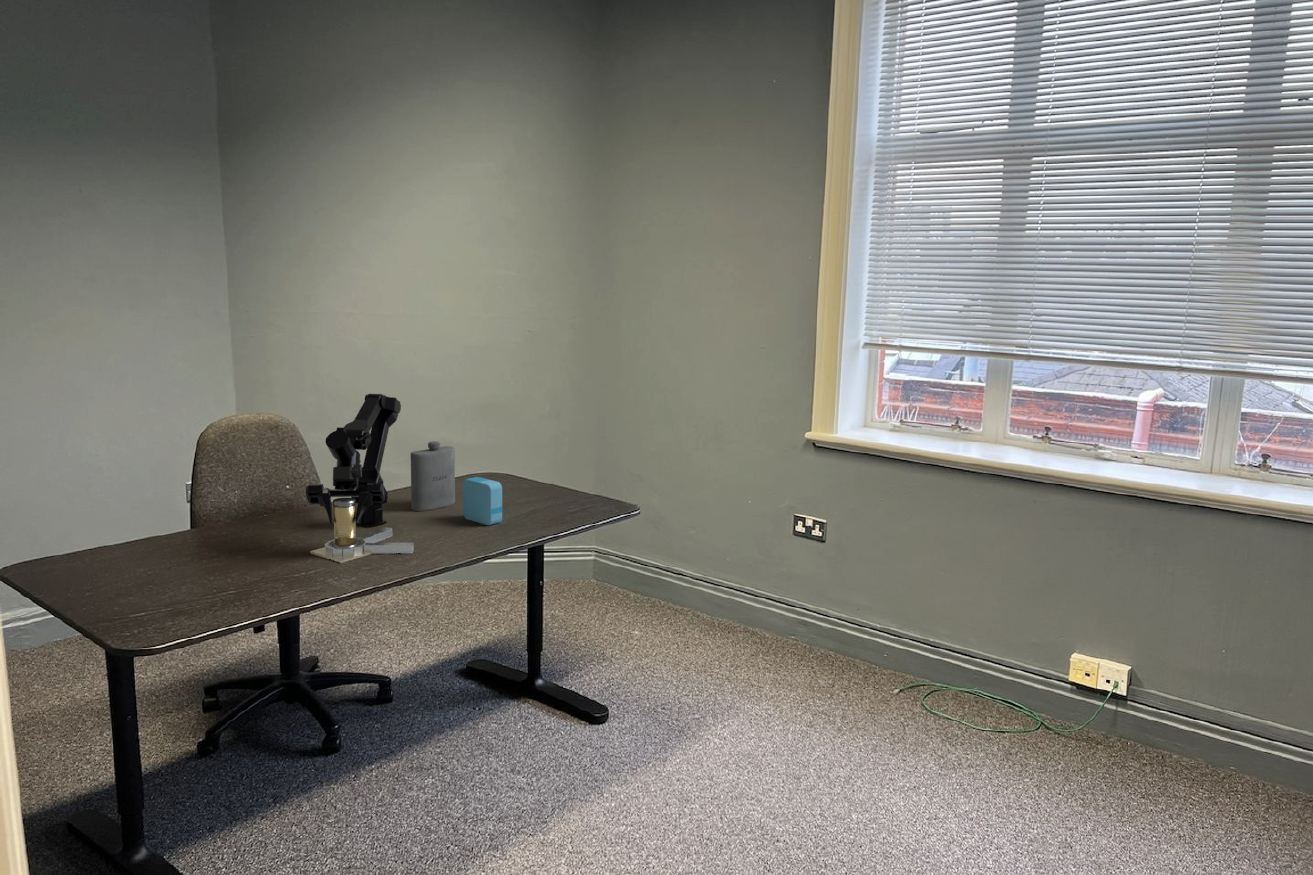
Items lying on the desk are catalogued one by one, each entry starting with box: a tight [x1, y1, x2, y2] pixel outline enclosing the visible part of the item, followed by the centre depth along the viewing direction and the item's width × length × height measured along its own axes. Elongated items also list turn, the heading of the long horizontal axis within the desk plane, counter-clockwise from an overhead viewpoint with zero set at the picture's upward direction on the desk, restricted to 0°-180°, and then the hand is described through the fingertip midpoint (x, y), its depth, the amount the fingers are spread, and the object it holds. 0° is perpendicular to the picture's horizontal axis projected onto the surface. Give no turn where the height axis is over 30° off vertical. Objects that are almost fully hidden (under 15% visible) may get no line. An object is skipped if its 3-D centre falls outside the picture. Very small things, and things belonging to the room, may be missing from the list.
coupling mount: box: [309, 526, 414, 564], centre depth 238 cm, size 20×23×2 cm
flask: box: [410, 440, 456, 512], centre depth 279 cm, size 15×6×20 cm, turn 141°
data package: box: [462, 476, 503, 526], centre depth 266 cm, size 12×4×12 cm, turn 51°
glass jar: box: [332, 497, 357, 548], centre depth 235 cm, size 5×5×13 cm
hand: (343, 522), depth 233 cm, fingers open, 6 cm apart
